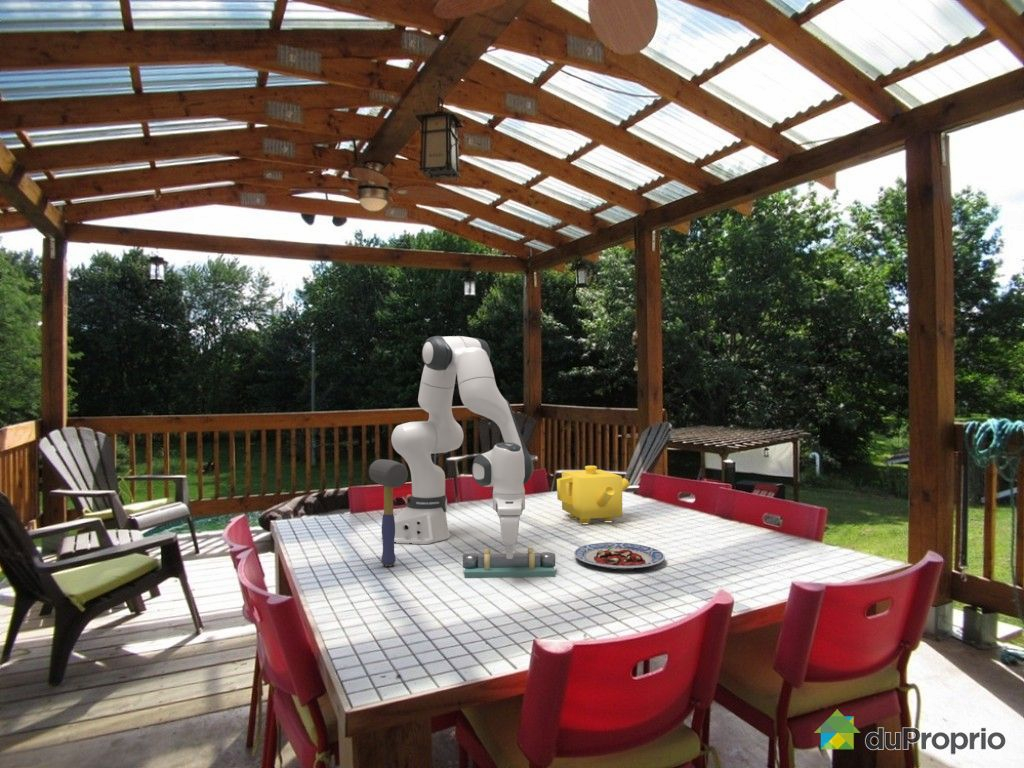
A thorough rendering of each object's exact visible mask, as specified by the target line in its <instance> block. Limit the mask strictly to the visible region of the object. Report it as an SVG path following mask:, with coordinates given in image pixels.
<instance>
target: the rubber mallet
mask: <svg viewBox="0 0 1024 768" xmlns="http://www.w3.org/2000/svg"><path fill="white" fill-rule="evenodd" d="M368 475H369V478H370V480H372V481H373V482H374V483H376V484H379V485H380V486H383V514H382V519H381V540H382V539H383V541H382V553H381V558H380V559H381V560H380V562H381V563H382V565H383V566H384V565H385V566H384V567H387V566H389V567H392V565H393V566H395V563H396V561H397V559H396V553H395V543H394V538H395V520H394V517H395V515H394V489H396V488H401V487H402V486H403V485H405V483H406V482H407V480H408V478H409V477H408V476H409V472H408V469H407V467H406V466H405V464H403V463H400V462H398V461H395V460H392V459H384V458H382V459H381V458H380V459H376V460H374V461H373V462H372V463H371V464H370V465H369V468H368Z"/></svg>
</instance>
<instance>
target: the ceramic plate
mask: <svg viewBox="0 0 1024 768" xmlns="http://www.w3.org/2000/svg"><path fill="white" fill-rule="evenodd" d="M573 554H574V556H575V558H576V559H577V560H578V561H581V562H583V563H586V564H589V565H592V566H596V567H600V566H602V567H601V568H604V567H608V568H607V569H609V568H616V569H615V570H635V569H634V568H637V569H641V568H647V567H652V566H655V565H658V564H661V563H662V562H663V561H665V556H666V555H665V553H664V552H662V551H660V549H657V548H654V547H651V546H648V545H644V544H637V543H631V542H616V541H615V542H598V543H597V542H596V543H591V544H586V545H583V546H580V547H578V548H577V549H576V550H575V551H574V553H573Z"/></svg>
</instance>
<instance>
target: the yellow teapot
mask: <svg viewBox="0 0 1024 768" xmlns="http://www.w3.org/2000/svg"><path fill="white" fill-rule="evenodd" d="M630 486H631V482H629V480H628V479H626V478H625V477H622V475H619V474H616V473H612V472H609V471H606V470H603V469H598V466H597V465H585V466H584V470H566V471H565V470H563V471H561V477H559V478H556V495H557V497H556V498H557V500H558V501H560V502H561V510H562V511H565V512H567V514H570V515H569V517H570V518H569V519H572V518H578V519H579V521H578V523H579V522H580V523H590V524H591V519H592V520H593V519H602V520H604V521H613V520H614V518H619V517H620V518H621V517H623V492H624V491H626V490H627V489H628V488H629V487H630ZM604 521H603V522H604ZM580 523H579V524H580Z"/></svg>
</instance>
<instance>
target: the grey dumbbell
mask: <svg viewBox="0 0 1024 768" xmlns="http://www.w3.org/2000/svg"><path fill="white" fill-rule="evenodd" d="M533 553H534V554H535V567H544V568H551V567H554V568H555V567H556V553H554V552H551V551H549V552H548V551H545V552H533ZM484 554H485V553H472V552H471V553H470V552H469V553H464V554H463V555H462V568H463V569H464V570H465V569H475V568H484ZM529 554H530V553H528V552H524V553H521V552H515V553H514V552H513V558H512V559H507V558H506V553H490V568H515V567H529Z"/></svg>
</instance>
